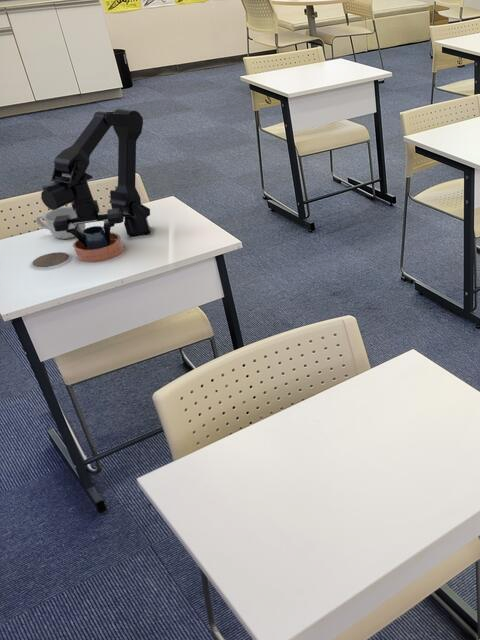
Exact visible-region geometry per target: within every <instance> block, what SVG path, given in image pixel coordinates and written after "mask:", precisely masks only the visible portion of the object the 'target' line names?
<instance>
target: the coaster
mask: <svg viewBox="0 0 480 640" xmlns="http://www.w3.org/2000/svg"><path fill="white" fill-rule="evenodd" d="M69 258H70V255H69V254H68V253H66V252H59V251H57V252H50V253H46V254H43V255H41V256H38V257H37V258H35V259H34V260H33V261H32V265H33V266H34V267H36V268H51V267H55V266H58V265H61V264H64V263H65V262H66V261H68V260H69Z"/></svg>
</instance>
